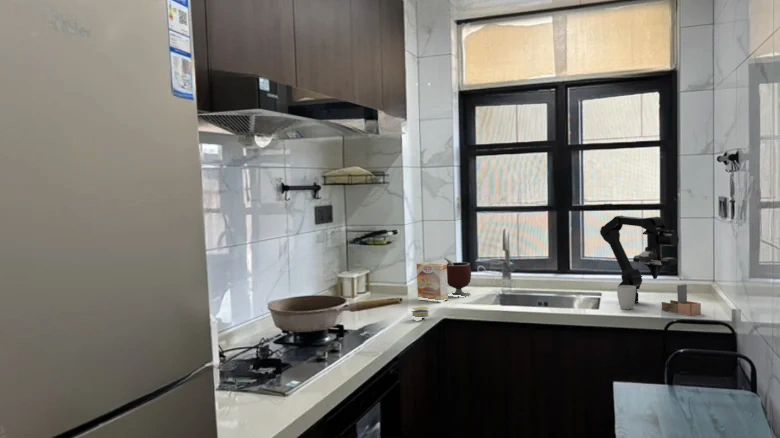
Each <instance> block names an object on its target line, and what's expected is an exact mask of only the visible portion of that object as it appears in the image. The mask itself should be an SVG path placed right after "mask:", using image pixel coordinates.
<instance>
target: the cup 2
mask: <svg viewBox="0 0 780 438" xmlns="http://www.w3.org/2000/svg"><path fill="white" fill-rule="evenodd" d="M688 304H690V305H688ZM701 305H702V303H701V302H696V301H689V300H687V304H682V303H678V313H677V314H679V315H684V314H685V315H686V316H692V317H693V316H695V315H700V313H702V312H701V311H702V310H701V309H702V308H701Z"/></svg>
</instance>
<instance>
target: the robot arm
mask: <svg viewBox="0 0 780 438" xmlns="http://www.w3.org/2000/svg"><path fill="white" fill-rule="evenodd" d="M624 225H625V226H633V227H640V228H642V229H644V231H643V232H642V235H644V236H645V235H646V239H647V241H646V244H647V246H645V248H644V251H642V252H640V253H639V254H637V255H634V256H633V258H632V259H633V260H632V261H633V263H643V264H644V266H646V267H648V269H649V272H650V274H651V276H652V278H653V279H654V280H657V278H658V277H659V274H660V273H661V270H662V269H663V267H664V266H674V265H678V260H677V258H676V257H664V255H662V250H664V246H665V247H666V246H668V247H676V246H677V245H679V244H678V243H679V242H680V241H679V240H680V239H679V236H678V234H677V233H676V230H669V229H668V227H667V226H666V224H665V223H664V221H663V219H662V218H661V217H660V216H652V217H636V216H627V215H626V216H625V215H616V216H614V217H613V218H612V219H611V220H610V221H608V222H607V223H605V224H604V225H602V226H601V227H600V230H599V233H600V235H601V237H602V239H603V240H604V241H605V242H606V243H608V244H609V247H610V249H611V251H612V252H613V255H614V257H615V259H616V262H617V263H618V265H619V268H620V270H621V280H622V281H621V282H620V283H619V284H618V285H617V286H621V285H630V286H635V287H636V297H635V303H634V304H639V292H638V290H640V287H641V286H642V283H643V275H642V274H641V272H640V270H639V269H637V268H636V269H635V268H633V266H632V264H631V262H630V260H629V257H628V256H627V253H626V251H625V249H624V247H623V245H622V243H621V240H620V238H621V233H620V231H621V230H622V228H623V226H624Z"/></svg>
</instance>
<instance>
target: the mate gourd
mask: <svg viewBox="0 0 780 438" xmlns="http://www.w3.org/2000/svg"><path fill="white" fill-rule="evenodd" d="M443 259H444V260H445V261H446V262H447V263H446V264H447V284H448V286H449V287H451V288H453V289H456V290H455V293H453V292H451V293H452V294H453V295H461V296H468V297H470V296H471V293H470V292H467V293H464V292H465V291H464V292H463V290H462V289H464V288H465V287H467V286H469V284H470V283H471V278H472V269H471V263H470V262H461V261H460V262H458V261H456V262H452V261H451V260H450V259H449V258H446V257H444V258H443ZM469 295H470V296H469Z"/></svg>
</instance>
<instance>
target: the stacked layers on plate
mask: <svg viewBox="0 0 780 438" xmlns="http://www.w3.org/2000/svg"><path fill="white" fill-rule="evenodd" d="M411 309H412V311H411V313H412V316H415V317H424V318H429V316H430V315H429V312H430V311H429V310H428V309H429V307H425V306H417V307H412V308H411Z"/></svg>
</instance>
